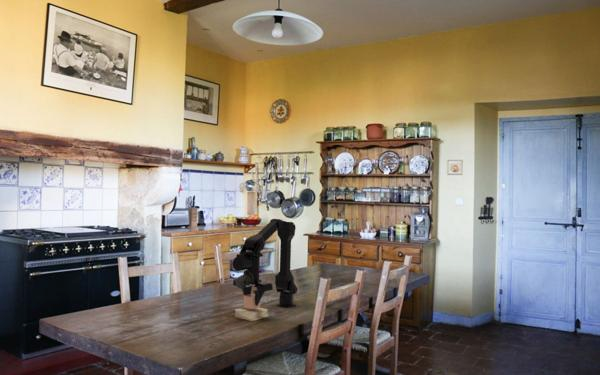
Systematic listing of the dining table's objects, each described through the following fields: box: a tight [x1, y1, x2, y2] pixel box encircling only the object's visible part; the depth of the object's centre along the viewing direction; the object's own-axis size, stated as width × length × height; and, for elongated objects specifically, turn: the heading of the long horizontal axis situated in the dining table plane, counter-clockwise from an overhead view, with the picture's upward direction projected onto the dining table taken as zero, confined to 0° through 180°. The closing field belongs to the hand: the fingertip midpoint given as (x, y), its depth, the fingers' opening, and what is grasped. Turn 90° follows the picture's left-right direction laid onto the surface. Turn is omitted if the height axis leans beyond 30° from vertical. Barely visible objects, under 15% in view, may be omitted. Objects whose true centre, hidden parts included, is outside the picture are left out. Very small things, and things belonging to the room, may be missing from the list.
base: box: [234, 306, 269, 322], centre depth 206 cm, size 10×10×3 cm
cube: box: [243, 293, 261, 309], centre depth 206 cm, size 5×5×5 cm
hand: (252, 304), depth 206 cm, fingers open, 5 cm apart
